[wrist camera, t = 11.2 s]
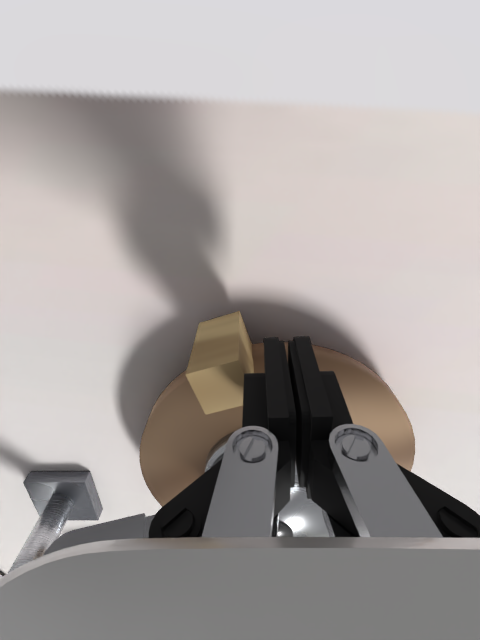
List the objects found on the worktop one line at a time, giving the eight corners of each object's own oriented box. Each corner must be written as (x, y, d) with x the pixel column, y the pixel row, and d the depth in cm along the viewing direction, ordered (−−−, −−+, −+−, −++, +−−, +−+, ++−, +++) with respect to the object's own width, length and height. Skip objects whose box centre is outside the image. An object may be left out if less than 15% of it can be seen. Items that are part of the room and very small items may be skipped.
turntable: (415, 503, 21) (450, 574, 17) (202, 543, 23) (194, 613, 20) (383, 268, 14) (432, 306, 10) (78, 358, 16) (31, 416, 12)
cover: (255, 521, 20) (257, 589, 17) (179, 462, 18) (165, 529, 14) (351, 475, 18) (374, 544, 15) (280, 403, 16) (289, 465, 12)
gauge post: (48, 510, 23) (-89, 760, 14) (29, 469, 21) (-148, 727, 12) (103, 510, 23) (4, 761, 14) (89, 469, 21) (-39, 729, 12)
